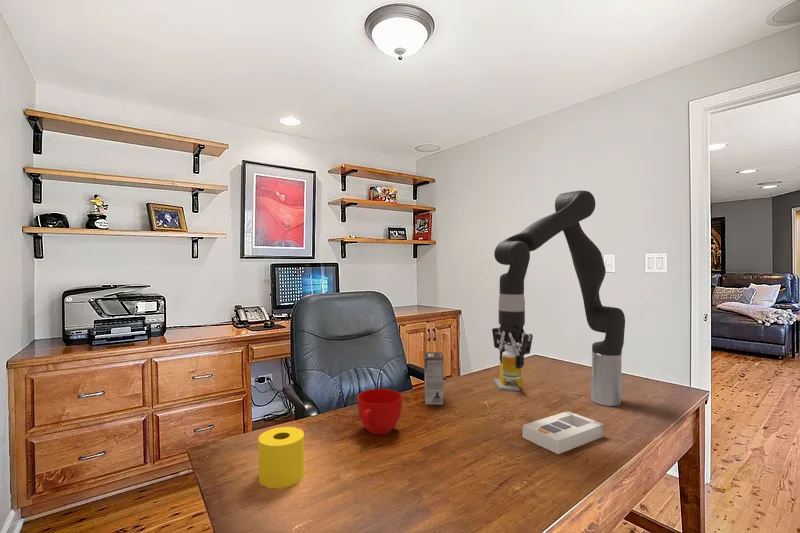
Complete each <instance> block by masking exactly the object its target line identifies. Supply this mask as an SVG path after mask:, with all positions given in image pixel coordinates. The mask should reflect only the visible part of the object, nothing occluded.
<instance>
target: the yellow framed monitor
mask: <svg viewBox="0 0 800 533" xmlns="http://www.w3.org/2000/svg"><path fill="white" fill-rule="evenodd" d="M522 378H523V377H521V378H520V379H506V378H504V377H503V376H502V363H501V361H500V362H499V378H493V383H494V384H495V385H496V387H497V389H499V390H500V391H506V392H507V391H508V392H521V388H520V387H522V386H524V381H523V379H522Z"/></svg>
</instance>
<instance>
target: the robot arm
mask: <svg viewBox="0 0 800 533" xmlns="http://www.w3.org/2000/svg"><path fill="white" fill-rule="evenodd" d="M554 201H555V202H554V210H555V212H554V213H553V212H552V213H551V214H548V215H546V216H544V217H542V218H539V219H537V220H536V221H534V222H532V223H531V224H530V225H528V226H527V227H526V228H524V229H523V230H522V231H520V232H518V233H515V234H514V235H511V236H510V237H509V236H508V237H507V238H505V239H503V240H502V241H500V242H499V243H498V244H497V245H496V247H495V249H494V254H493V255H494V259H495V261H496V262H497V263H498V264H500V265H504V266H509V267H508V270H507V272H506V273H503V274H501V275H500V277H499V296H498V325H500V326H499V327H493V328H492V329H491V332H492V339H493V347H494V348H495V349H498V351H499V361H500V362H501V363H502V353H503V352H504V351H505V344H507V343H511V344H512V346H513V348H514V349H515V351H516V368H521V369H523V367H524V365H525V355H529V354H531V348H532V345H533V344H532V343H533V337H534V336H533V334H532V333H527V332H525V329H524V326H525V325H526V324H525V322H526V306H525V305H526V299H525V278H526V274H527V272H528V271H527V270H528V267H529V264H530V259H531V252H534V251H536V250H537V249H539V248H540V247H542V246H543V245H545V243H547V242H548V241H550V240H551V239H552V238H554V237H555V236H556V235H558V234H560V233H563V234H564V237H565V240H566V242H567V245H568V246H567V247H568V249H569V252H570V255H571V259H572V265H573V266H574V271H575V273H576V277H577V281H578V283H579V287H580V291H581V296H582V300H583V306H584V311H585V317H586V322H587V325H588V327H589V328H590V329H591V330H592V331H594V332H598V333H603V334H605V336H604V339H602V340H601V341H595V342H593V343H592V346H591V347H592V348H591V389H590V390H591V391H590V392H591V395H590V396H591V397H590V398H591V402H594V403H595V404H597V405H601V406H606V407H616V406H617V407H618V406H620V405H621V402H622V400H623V397H622V396H623V393H622V392H623V375H622V352H623V348H624V343H625V342H624V341H625V332H626V331H625V330H626V329H625V328H626V318H625V316H626V315H625V312H624V311H623V309H621V308H619V307H615V306H606V305H603V304H602V302H601V299H600V298H601V297H600V289H601V287H602V284H603V282H604V279H605V276H606V272H607V271H606V265H605V262H604V258H603V255H602V252H601V250H600V248H599V247H598V246H597V245H596V244H595V242H593V241H592V240H591V238H590V237H588V236H587V234H586V233H585V232H584V230H583V229H582V226H581V224H580V222H581V221H583V220H585V219H587V218H589V217H590V216H591V215H593V213H594V211H595V209H596V199H595V196H594V195H593V193H592V192H590V191H588V190H573V191H569V192H564V193H560V194H559V195H557V196H556V198H555V200H554Z"/></svg>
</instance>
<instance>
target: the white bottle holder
mask: <svg viewBox="0 0 800 533" xmlns="http://www.w3.org/2000/svg"><path fill="white" fill-rule="evenodd" d="M604 430H605V423H602V422H598V421H596V420H593V419H592V418H588V417H586V416H583V415H580V414H577V413H575V412H571V411H569V410H567V411H563V412H560V413H558V414H554V415H551V416H547V417H544V418H541V419H538V420H534V421H532V422H528V423H524V424H523V425H522V438H523V439H525V440H527V441H529V442H531V443H534V444H536V445H537V446H540V447H542V448H544V449H545V450H548V451H551V452H552V453H555V454H557V455H560V454H563V453H565V452H567V451H570V450H572V449H575V448H577V447H581V446H583V445H585V444H588V443H591V442H593V441H596V440H598V439H601V438H603V437H604V436H605V431H604Z"/></svg>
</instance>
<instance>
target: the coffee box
mask: <svg viewBox="0 0 800 533" xmlns="http://www.w3.org/2000/svg"><path fill="white" fill-rule="evenodd" d="M444 359H445V358H444V354H443V351H438V352H437V351H435V352H433V351H431V352H429V351H426V352H424V403H425V405H440V406H441V405H444Z"/></svg>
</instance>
